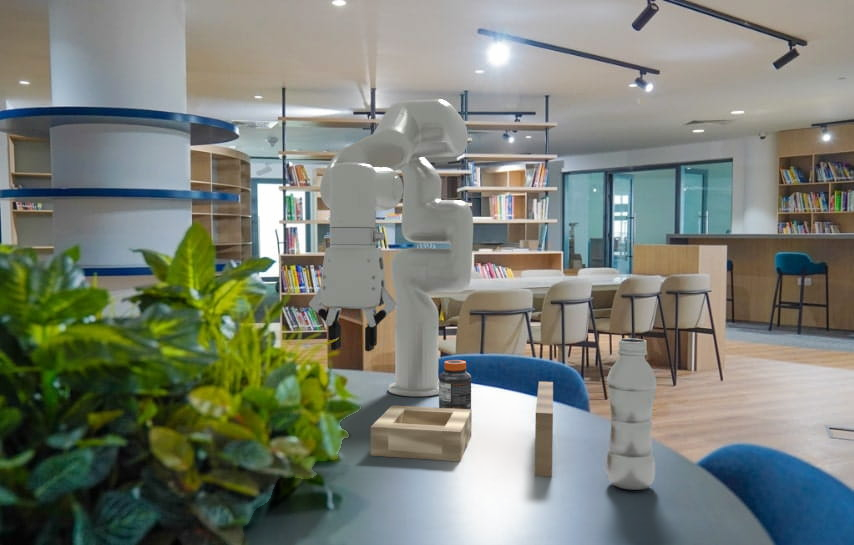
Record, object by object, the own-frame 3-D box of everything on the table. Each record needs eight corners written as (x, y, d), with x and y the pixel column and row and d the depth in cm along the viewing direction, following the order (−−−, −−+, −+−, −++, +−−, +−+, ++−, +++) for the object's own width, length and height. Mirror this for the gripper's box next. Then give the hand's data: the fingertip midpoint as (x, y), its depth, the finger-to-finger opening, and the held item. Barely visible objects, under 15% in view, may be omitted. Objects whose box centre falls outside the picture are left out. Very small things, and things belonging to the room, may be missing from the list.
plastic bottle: (663, 486, 92) (666, 340, 91) (641, 499, 87) (644, 345, 86) (619, 475, 97) (622, 335, 96) (596, 487, 92) (598, 340, 91)
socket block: (391, 430, 119) (391, 405, 118) (471, 435, 116) (471, 409, 116) (370, 455, 105) (370, 426, 105) (460, 461, 102) (460, 431, 102)
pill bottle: (471, 418, 127) (472, 358, 127) (470, 427, 121) (471, 364, 121) (440, 417, 128) (440, 357, 127) (437, 426, 122) (437, 363, 121)
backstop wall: (538, 432, 118) (538, 381, 117) (552, 433, 117) (552, 382, 117) (534, 475, 96) (535, 412, 96) (552, 476, 96) (552, 413, 95)
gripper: (408, 239, 113) (408, 347, 114) (311, 239, 116) (311, 344, 117) (398, 239, 106) (398, 355, 107) (294, 239, 109) (295, 351, 110)
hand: (352, 348), depth 112 cm, fingers open, 5 cm apart
